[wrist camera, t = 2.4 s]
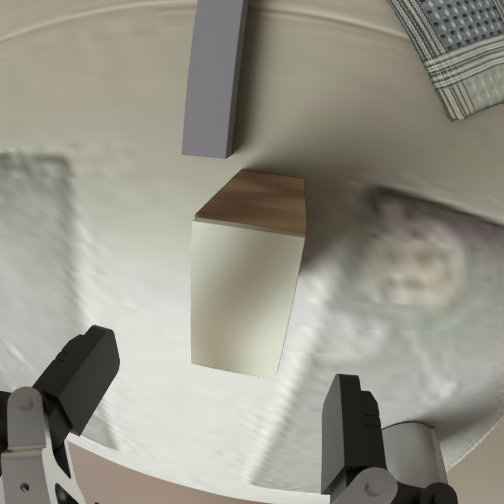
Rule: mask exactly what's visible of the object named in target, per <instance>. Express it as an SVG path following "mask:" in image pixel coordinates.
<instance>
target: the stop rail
mask: <svg viewBox="0 0 504 504" xmlns="http://www.w3.org/2000/svg"><path fill="white" fill-rule="evenodd" d="M248 5H249V0H198V4H197V11H196V17H195V25H194V32H193V39H192V47H191V56H190V65H189V74H188V84H187V94H186V105H185V117H184V131H183V146H182V155H191V156H202V157H213V158H222V159H226V158H228V157H229V156H231V155H232V148H233V137H234V127H235V117H236V107H237V98H238V89H239V80H240V71H241V62H242V53H243V45H244V37H245V29H246V21H247V13H248Z"/></svg>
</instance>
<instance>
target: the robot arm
mask: <svg viewBox="0 0 504 504" xmlns="http://www.w3.org/2000/svg"><path fill="white" fill-rule="evenodd" d="M119 365H120V358H119V353H118V349H117V344H116V340H115V335H114V332H113V330H111V329H107V328H104V327H100V326H97V325H93V326H91V327H90V328H89V330H88V331H87V332H86V333H85V334H84V335H81V334H80V335H78V336H76V337H75V338H73V339H71V340H70V341H69V342H68V343H67V344H66V345H65V346H64V348H63V349H62V351H61V352H59V354H58V355H57V356H56V359H54V360H53V361H52V362H51V364H50V365H49V366H48V367H47V368H46V370H45V371H44V372H43V374H42V375H41V376H40V377H39V379H38V380H37V381H36V382H35V384H34V385H33V386H32V387H21V388H18V389H16V390H15V391H14V392H13V393H9V392H4V391H0V477H1V475H2V478H3V486H4V495H5V502H6V504H86V503H85V500H84V497H83V495H82V493H81V491H80V489H79V487H78V485H77V483H76V479H75V475H74V471H73V467H72V462H71V458H70V453H69V448H68V443H67V439H66V437H67V435H68V434H69V432H71V433H73V434H75V435H77V436H79V437H80V435H81V433H82V431H83V430H84V428H85V426H86V424H87V423H88V421H89V419H90V418H91V416H92V414H93V412H94V411H95V409H96V407H97V406H98V404H99V402H100V401H101V399H102V397H103V396H104V394H105V392H106V391H107V389H108V387H109V386H110V384H111V383H112V381H113V379H114V378H115V376H116V374H117V372H118V370H119ZM321 494H323V495H330V504H458V500H457V495H456V492H455V491H454V489H453V488H452V487H451V486H449V485H448V480H447V476H446V471H445V466H444V462H443V457H442V453H441V449H440V445H439V441H438V437H437V433H436V429H435V428H428V427H427V426H426V425H424V424H421V423H403V424H398V425H394V426H391V427H388V428H385V429H383V430H382V429H381V422H380V418H379V409H378V403H377V401H376V400H375V398H374V397H373V395H372V394H371V392H370V391H361V387H360V380H359V377H358V376H357V375H346V374H336V375H335V377H334V380H333V382H332V385H331V387H330V389H329V392H328V394H327V396H326V399H325V402H324V405H323V411H322V475H321ZM95 504H99V503H95Z"/></svg>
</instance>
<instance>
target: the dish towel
mask: <svg viewBox="0 0 504 504" xmlns="http://www.w3.org/2000/svg"><path fill="white" fill-rule="evenodd" d="M387 1H388V3H389V4H390V5H391V7H392V8H393V10H394V12H395V14H396V15H397V17H398V18H399V20H400V21H401V23H402V25H403V26H404V28H405V29H406V31H407V33H408V35H409V37H410V39H411V40H412V42H413V44H414V46H415V49H416V50H417V52H418V54H419V56H420V59H421V60H422V62H423V65H424V67H425V69H426V71H427V73H428V75H429V77H430V79H431V81H432V84H433V86H434V88H435V90H436V92H437V94H438V96H439V98H440V100H441V102H442V104H443V106H444V109H445V111H446V113H447V116H448V118H449V120H450V121H454V120H456V119H458V120H463V119H464V118H466V117H467V116H468V115H470V114H473V113H475V112H478V111H481V110H484V109H488V108H490V107H492V106H496V105H499V104H502V103H504V0H387Z"/></svg>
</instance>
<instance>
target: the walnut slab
mask: <svg viewBox="0 0 504 504" xmlns="http://www.w3.org/2000/svg"><path fill="white" fill-rule="evenodd" d="M306 232H307V227H306V204H305V185H304V178H297V177H291V176H284V175H277V174H270V173H263V172H255V171H248V170H240V171H239V172H238V173H237V174H236V175H235V176H234V177H233V178H232V179H231V180H230V181H229V182H228V183H227V184H226V185H225V186H224V187H222V188H221V189H220V190H219V191H218V192H217V193H216V194H215V195H214V196H213V197H212V198H211V199H210V200H209V201H208V202H207V203H206V204H205V205H204V206H203V207H202V208H201V209H200V210H199V211H198V212H197V213H196V214H195V219H194V220H193V221H192V251H191V360H192V364H195V365H200V366H205V367H209V368H214V369H219V370H224V371H229V372H234V373H240V374H245V375H251V376H257V377H263V378H269V379H275V380H276V375H277V372H278V368H279V364H280V359H281V355H282V350H283V346H284V341H285V337H286V332H287V328H288V323H289V318H290V314H291V309H292V304H293V299H294V294H295V290H296V285H297V280H298V274H299V269H300V264H301V259H302V254H303V248H304V243H305V237H306Z"/></svg>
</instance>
